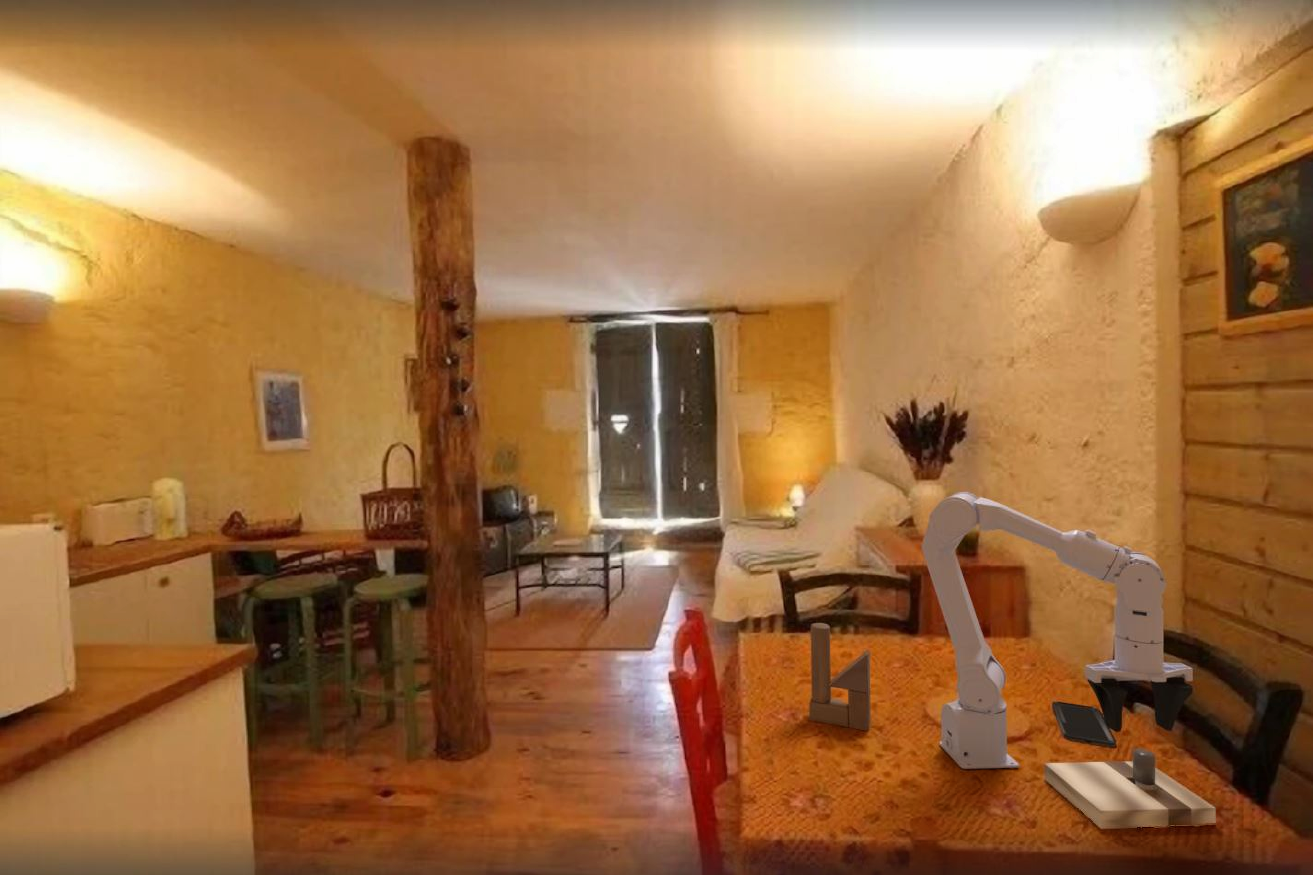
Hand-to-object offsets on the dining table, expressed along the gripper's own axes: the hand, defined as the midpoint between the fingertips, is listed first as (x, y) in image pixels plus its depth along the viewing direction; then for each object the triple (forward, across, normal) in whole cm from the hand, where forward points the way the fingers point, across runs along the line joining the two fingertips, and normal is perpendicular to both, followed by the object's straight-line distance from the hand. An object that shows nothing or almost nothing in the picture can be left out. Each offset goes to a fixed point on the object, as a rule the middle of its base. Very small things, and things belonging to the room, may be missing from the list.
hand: (1138, 728), depth 91 cm
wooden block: (+11, -37, +25) cm, 46 cm away
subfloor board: (+10, -3, -1) cm, 11 cm away
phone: (+11, +7, +22) cm, 26 cm away
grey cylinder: (+10, 0, -1) cm, 10 cm away
